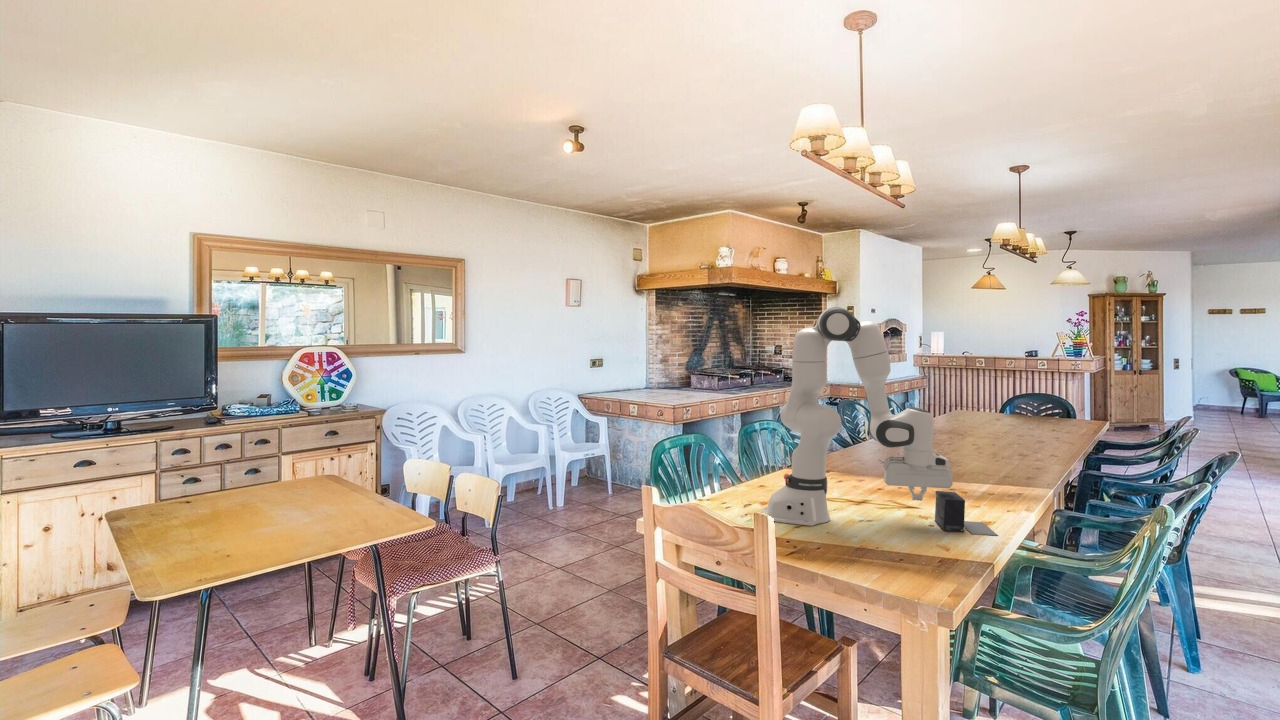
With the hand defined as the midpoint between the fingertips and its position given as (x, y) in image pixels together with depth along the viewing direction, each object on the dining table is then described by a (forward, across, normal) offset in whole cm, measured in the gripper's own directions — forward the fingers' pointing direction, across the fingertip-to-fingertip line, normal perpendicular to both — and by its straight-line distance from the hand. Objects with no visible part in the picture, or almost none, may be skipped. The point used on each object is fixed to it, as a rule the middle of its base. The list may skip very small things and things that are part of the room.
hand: (917, 499), depth 197 cm
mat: (+8, +18, 0) cm, 20 cm away
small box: (+8, +10, 0) cm, 13 cm away
